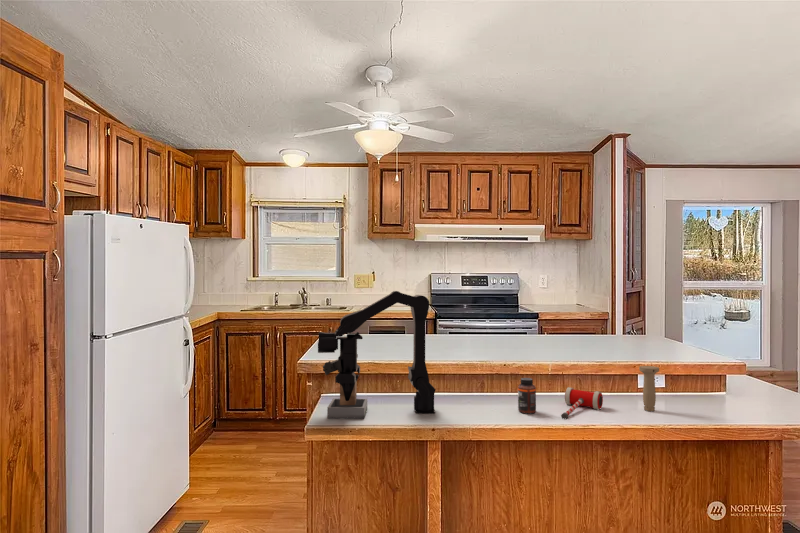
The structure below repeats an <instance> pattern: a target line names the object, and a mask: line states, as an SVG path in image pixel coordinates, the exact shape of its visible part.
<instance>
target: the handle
mask: <svg viewBox="0 0 800 533" xmlns="http://www.w3.org/2000/svg"><path fill="white" fill-rule="evenodd" d="M638 370H639V372H641V373H642V374H643V386H642V389H643V390H642V401H643V402H642V403H643V409H644V411H646V410H647V411H646V412H651V411H653V412H655V409H656V407H655V405H656V401H657V400H656V398H657V393H656V379H655V378H656V377H655V375H656V374H657V373H658V372H660V367H658V366H655V365H652V366H651V365H641V366H639V367H638Z"/></svg>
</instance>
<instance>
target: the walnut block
mask: <svg viewBox="0 0 800 533" xmlns="http://www.w3.org/2000/svg"><path fill="white" fill-rule="evenodd" d="M357 382H358V380H357V381H356V383H355V386H354V388H353V391H352V394H351V397H350V399H349V401H346V400H345V396H344V391H343V387H342V385H340V384H339V398H340V405H355V404H356V399H357V395H358V394H357V389H358V388H357V385H358V384H357Z"/></svg>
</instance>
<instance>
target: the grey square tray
mask: <svg viewBox="0 0 800 533" xmlns="http://www.w3.org/2000/svg"><path fill="white" fill-rule="evenodd" d="M326 411H327V415H326V417H327V419H340V418H345V419H346V418H347V419H351V420H352V419H353V420H355V419H356V420H357V419H361V420H364V419H365V418H366V415H365V414H367V412H366V411H368V398H356V404H355V405H340V397H339V398H332V400H331V401H330V403H329V404H328V406H327V409H326ZM347 419H346V420H347Z"/></svg>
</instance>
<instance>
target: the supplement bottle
mask: <svg viewBox="0 0 800 533" xmlns="http://www.w3.org/2000/svg"><path fill="white" fill-rule="evenodd" d="M536 389H537V388H536V385H535V384H534V379H533V378H531V377H521V378H520V384H519V385H518V386H517V405H518V406H517V411H518V412H519V413H521V412H522V414H525V413H528V414H527V415H529V414H530V413H532V414H535V413H536V412H537V390H536Z"/></svg>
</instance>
